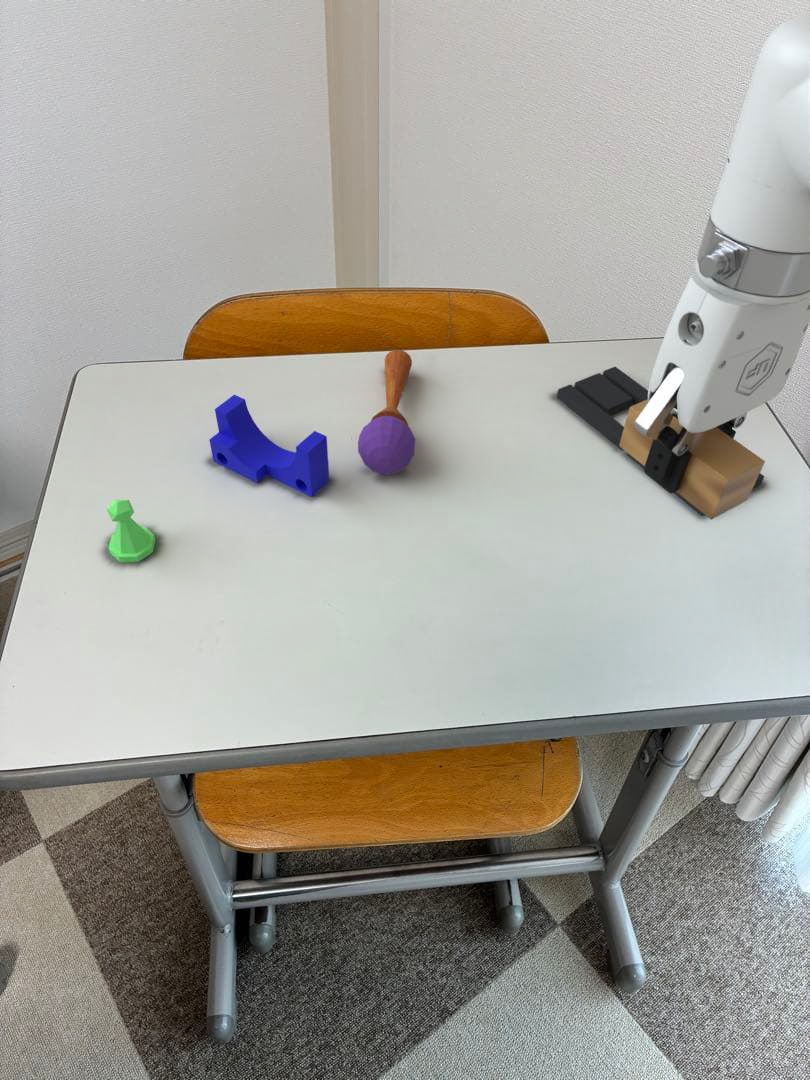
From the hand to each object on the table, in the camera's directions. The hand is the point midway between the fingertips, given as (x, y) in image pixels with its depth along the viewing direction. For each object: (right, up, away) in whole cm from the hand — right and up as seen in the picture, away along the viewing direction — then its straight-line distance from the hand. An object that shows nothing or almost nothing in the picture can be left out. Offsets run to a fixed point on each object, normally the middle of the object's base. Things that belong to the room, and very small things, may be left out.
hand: (682, 469), depth 63 cm
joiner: (0, 0, 0) cm, 0 cm away
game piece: (-48, -6, +14) cm, 50 cm away
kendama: (-23, +7, +27) cm, 37 cm away
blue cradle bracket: (-36, +2, +21) cm, 42 cm away
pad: (+3, +10, +30) cm, 31 cm away
